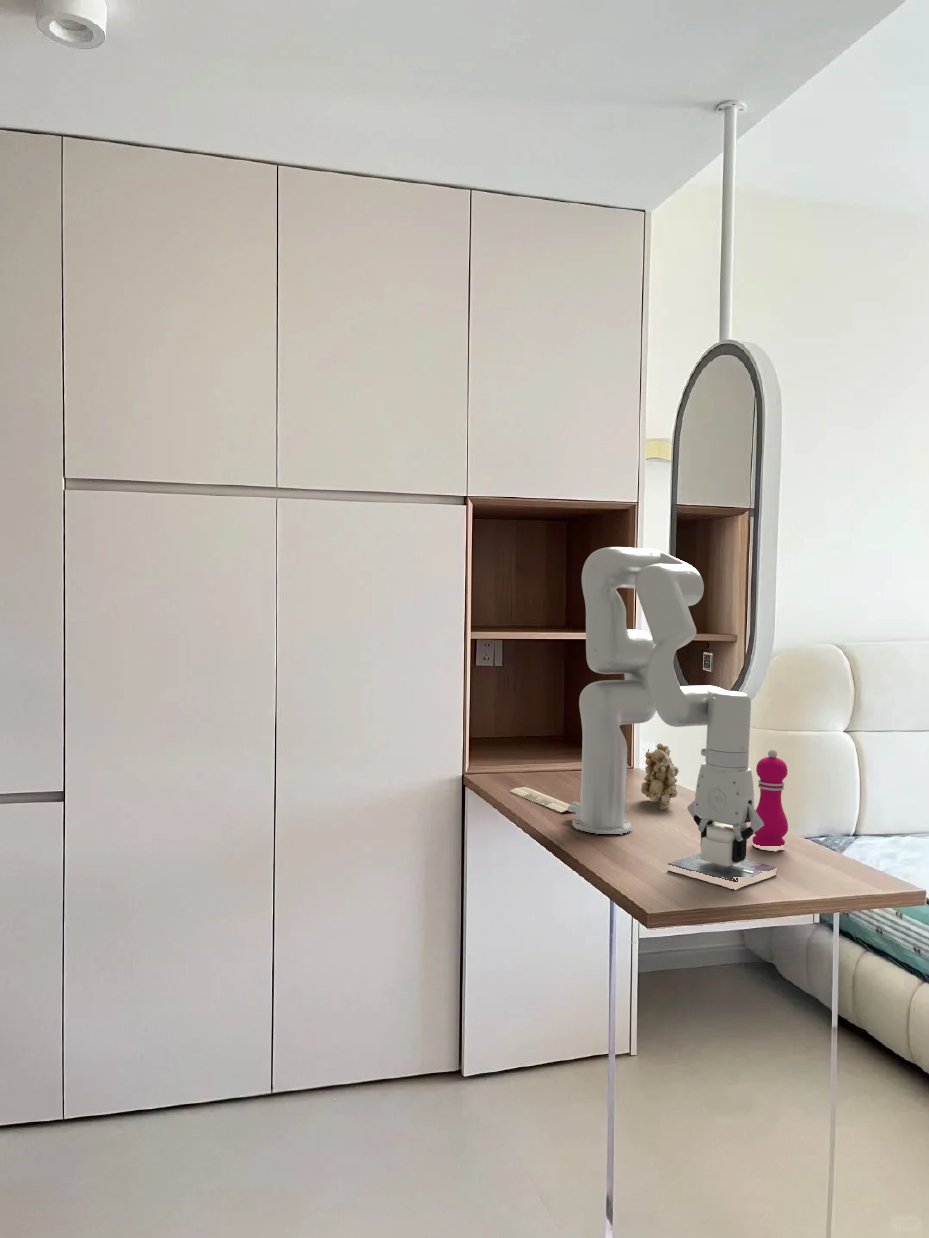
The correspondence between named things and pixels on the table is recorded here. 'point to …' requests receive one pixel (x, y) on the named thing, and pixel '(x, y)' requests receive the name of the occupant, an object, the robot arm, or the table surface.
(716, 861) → the knob
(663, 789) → the mineral formation
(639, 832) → the table surface
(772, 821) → the pepper mill
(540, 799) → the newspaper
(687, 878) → the table surface
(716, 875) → the grey thin square slab
